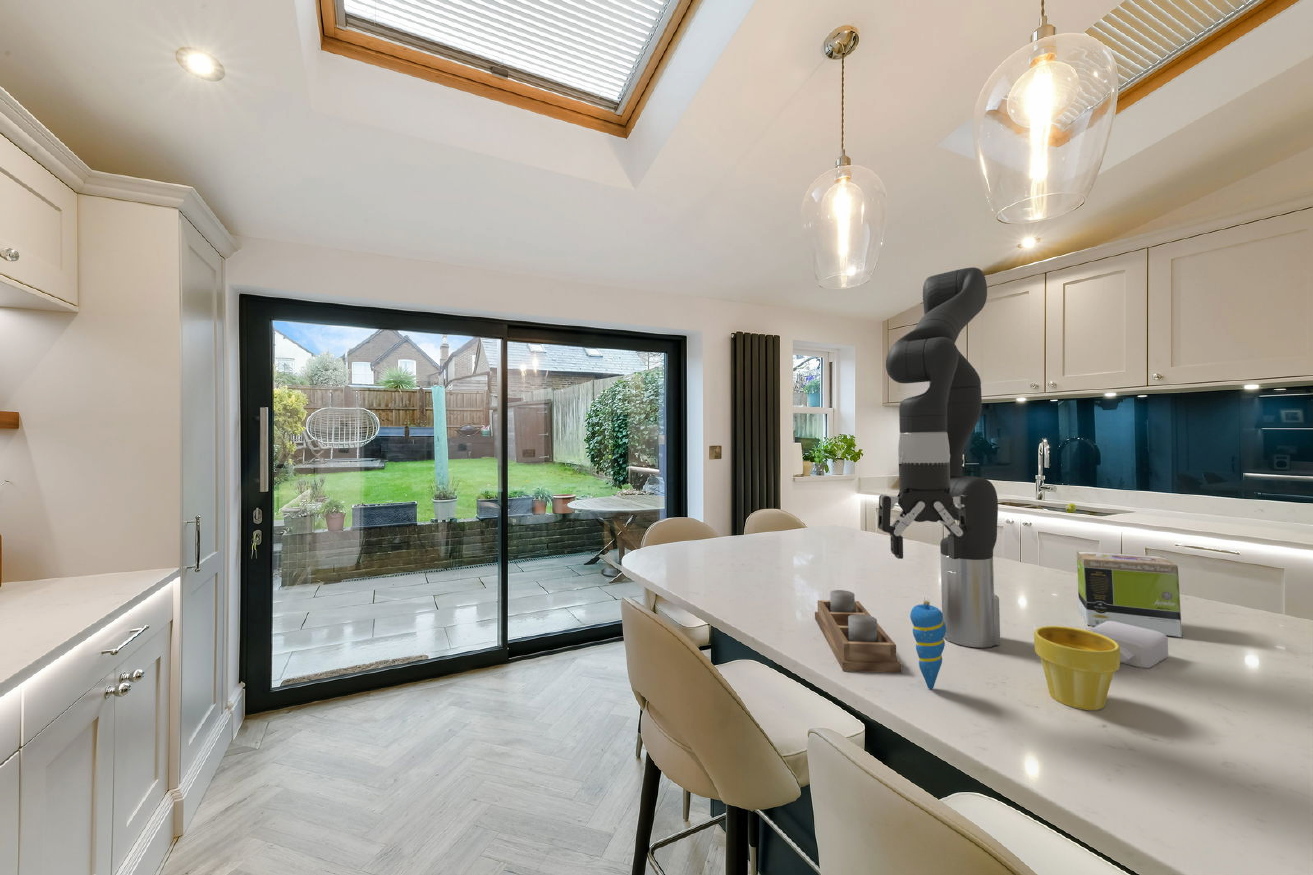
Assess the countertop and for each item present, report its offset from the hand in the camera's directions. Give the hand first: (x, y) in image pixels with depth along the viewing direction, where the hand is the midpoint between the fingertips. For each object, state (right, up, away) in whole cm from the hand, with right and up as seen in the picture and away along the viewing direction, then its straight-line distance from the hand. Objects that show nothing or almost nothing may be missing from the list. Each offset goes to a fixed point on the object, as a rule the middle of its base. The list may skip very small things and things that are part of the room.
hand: (925, 558), depth 84 cm
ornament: (0, -22, 0) cm, 22 cm away
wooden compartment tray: (-5, -22, +20) cm, 30 cm away
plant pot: (+21, -21, -5) cm, 30 cm away
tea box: (+57, -21, +26) cm, 66 cm away
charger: (+41, -21, +9) cm, 47 cm away
